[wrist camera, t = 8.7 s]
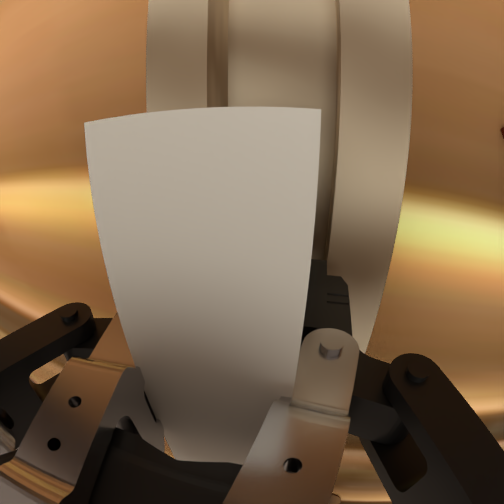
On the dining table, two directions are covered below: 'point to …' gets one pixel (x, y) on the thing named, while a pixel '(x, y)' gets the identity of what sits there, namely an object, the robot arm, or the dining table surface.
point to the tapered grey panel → (209, 260)
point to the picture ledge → (308, 96)
